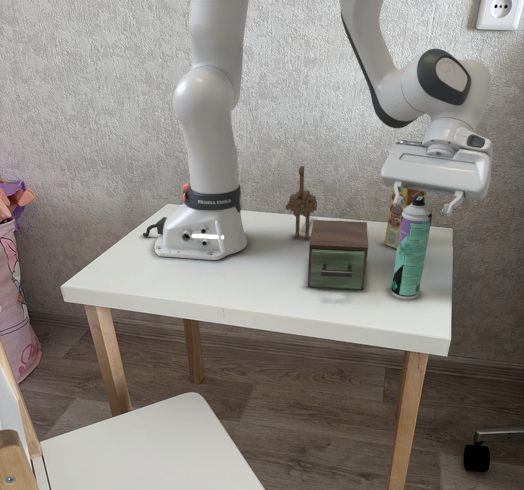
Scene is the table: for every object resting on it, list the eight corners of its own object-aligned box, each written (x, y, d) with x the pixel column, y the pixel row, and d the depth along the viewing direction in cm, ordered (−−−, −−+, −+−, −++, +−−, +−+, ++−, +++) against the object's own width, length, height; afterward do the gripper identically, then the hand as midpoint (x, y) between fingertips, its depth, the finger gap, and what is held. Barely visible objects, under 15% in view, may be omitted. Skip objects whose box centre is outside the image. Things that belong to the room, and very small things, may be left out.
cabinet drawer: (361, 298, 105) (365, 262, 101) (308, 295, 107) (310, 260, 102) (360, 262, 119) (363, 229, 114) (313, 260, 120) (315, 227, 116)
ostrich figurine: (311, 245, 129) (314, 170, 119) (284, 242, 131) (285, 168, 121) (324, 220, 143) (328, 151, 132) (300, 218, 144) (302, 149, 134)
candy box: (398, 250, 126) (407, 186, 118) (383, 245, 129) (391, 182, 120) (419, 239, 131) (429, 177, 123) (404, 234, 134) (413, 173, 125)
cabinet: (363, 290, 110) (368, 247, 105) (307, 287, 111) (309, 244, 106) (362, 262, 121) (366, 221, 116) (311, 259, 123) (313, 219, 117)
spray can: (416, 287, 111) (432, 192, 99) (420, 300, 106) (437, 202, 95) (389, 286, 111) (402, 192, 100) (392, 299, 107) (406, 201, 95)
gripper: (391, 129, 104) (366, 193, 102) (500, 142, 94) (474, 212, 93) (397, 148, 109) (373, 208, 108) (500, 162, 100) (475, 228, 99)
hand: (420, 210), depth 101 cm, fingers open, 8 cm apart
